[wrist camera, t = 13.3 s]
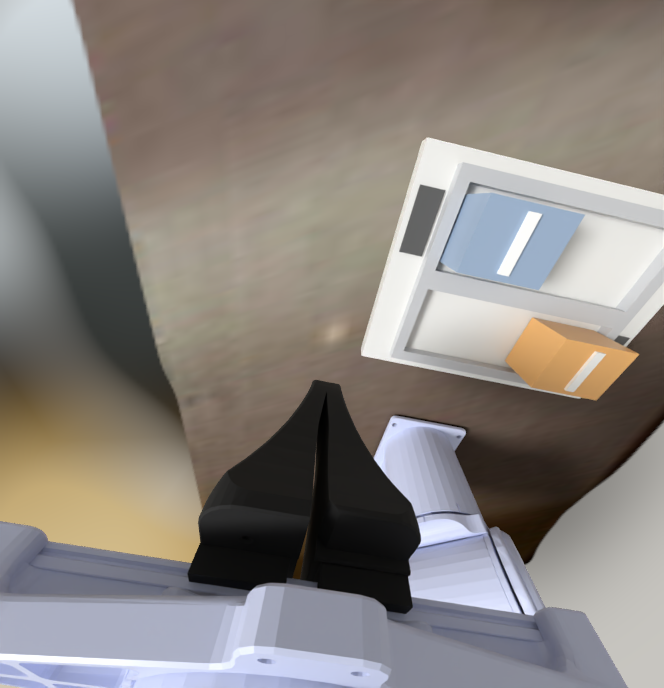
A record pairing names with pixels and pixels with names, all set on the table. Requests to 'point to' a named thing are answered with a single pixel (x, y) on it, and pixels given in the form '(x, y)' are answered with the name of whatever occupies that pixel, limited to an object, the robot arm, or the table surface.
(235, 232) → the table surface
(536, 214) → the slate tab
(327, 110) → the table surface
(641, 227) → the white flat tray
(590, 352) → the orange white-striped block
